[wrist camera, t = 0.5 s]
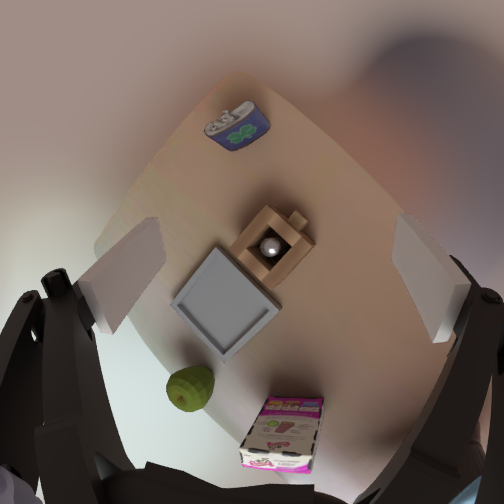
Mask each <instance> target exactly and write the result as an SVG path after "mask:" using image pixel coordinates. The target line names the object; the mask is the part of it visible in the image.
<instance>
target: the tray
mask: <svg viewBox="0 0 504 504" xmlns="http://www.w3.org/2000/svg"><path fill="white" fill-rule="evenodd" d="M170 306H171V307H172V308H173V309H174V310H175V311H176V312H177V314H178V315H179V316H180V317H181V318H182V319H183V320H184V321H185V323H186V324H187V325H188V326H189V327H190V328H191V329H192V330H193V331H194V332H195V333H196V335H197V336H198V337H199V338H200V339H201V340H202V341H203V342H204V343H205V344H206V345H207V346H208V347H209V348H210V349H211V350H212V351H213V352H214V353H215V354H216V356H217V357H218V358H219V359H220V360H221V361H222V362H223V363H225V362H226V361H227V360H228V359H229V358H230V357H232V356H233V355H234V354H235V353H236V352H237V351H238V350H239V349H240V348H241V347H242V346H243V345H244V344H246V343H247V342H248V341H249V340H250V339H251V338H252V337H253V336H254V335H255V334H256V333H257V332H258V331H259V330H260V329H261V328H262V327H263V326H264V325H266V324H267V323H268V322H269V321H270V320H271V319H272V318H273V317H274V316H275V315H276V314H277V313H278V312H279V311H280V310H281V309H282V307H281V306H280V305H279V304H278V303H277V302H276V301H275V300H274V299H273V298H272V297H271V296H270V295H269V294H268V293H267V292H266V291H265V290H264V289H263V288H262V287H261V286H260V285H259V284H258V283H257V282H256V281H254V280H253V279H252V278H251V277H250V276H249V275H248V274H247V273H246V272H245V271H244V270H243V269H242V268H241V267H240V266H239V265H238V264H237V263H236V262H235V261H234V260H233V259H232V258H231V257H230V256H229V255H228V254H227V253H226V252H225V251H224V249H223V248H222V247H221V246H220V247H215V248H214V249H213V251H212V252H211V253H210V254H209V256H208V257H207V258H206V259H205V261H204V262H203V263H202V264H201V266H200V267H199V268H198V269H197V271H196V272H195V273H194V274H193V276H192V277H191V278H190V280H189V281H188V282H187V283H186V285H185V286H184V287H183V289H182V290H181V291H180V292H179V294H178V295H177V296H176V298H175V299H174V300H173V301H172V303H171V304H170Z"/></svg>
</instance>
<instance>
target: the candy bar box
mask: <svg viewBox="0 0 504 504" xmlns="http://www.w3.org/2000/svg"><path fill="white" fill-rule="evenodd" d="M323 411H324V398H289V397H272V396H268V398H267V399H266V401H265V403H264V405H263V407H262V409H261V411H260V412H259V414H258V416H257V418H256V420H255V422H254V423H253V425H252V427H251V428H250V430H249V432H248V434H247V435H246V437H245V439H244V441H243V442H242V444H241V446H240V448H239V450H240V455H241V460H242V462H241V463H242V466H243V467H250V468H256V469H263V470H271V471H280V472H290V473H304V474H311V471H312V467H313V462H314V458H315V454H316V449H317V445H318V441H319V436H320V431H321V426H322V421H323Z"/></svg>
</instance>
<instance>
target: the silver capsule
mask: <svg viewBox="0 0 504 504" xmlns="http://www.w3.org/2000/svg"><path fill="white" fill-rule="evenodd" d="M260 249H261V252H262V253H263V255H265V256H267V257H272V256H275V255H279V254H282V253H283V252H284V251H285V250H286V242H285V240H284V239H282V238H279V237H276V238H266V239H264V240H263V241H262V243H261V246H260Z"/></svg>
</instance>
